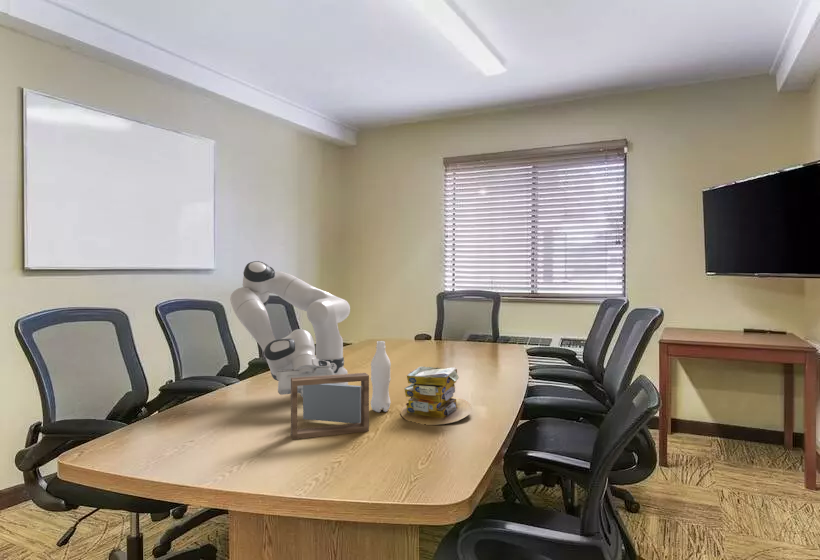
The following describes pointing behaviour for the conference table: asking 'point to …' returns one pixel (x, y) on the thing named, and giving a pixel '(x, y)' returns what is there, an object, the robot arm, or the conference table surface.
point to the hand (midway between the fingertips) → (309, 402)
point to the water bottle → (380, 379)
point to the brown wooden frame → (336, 428)
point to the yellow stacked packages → (433, 397)
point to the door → (332, 403)
